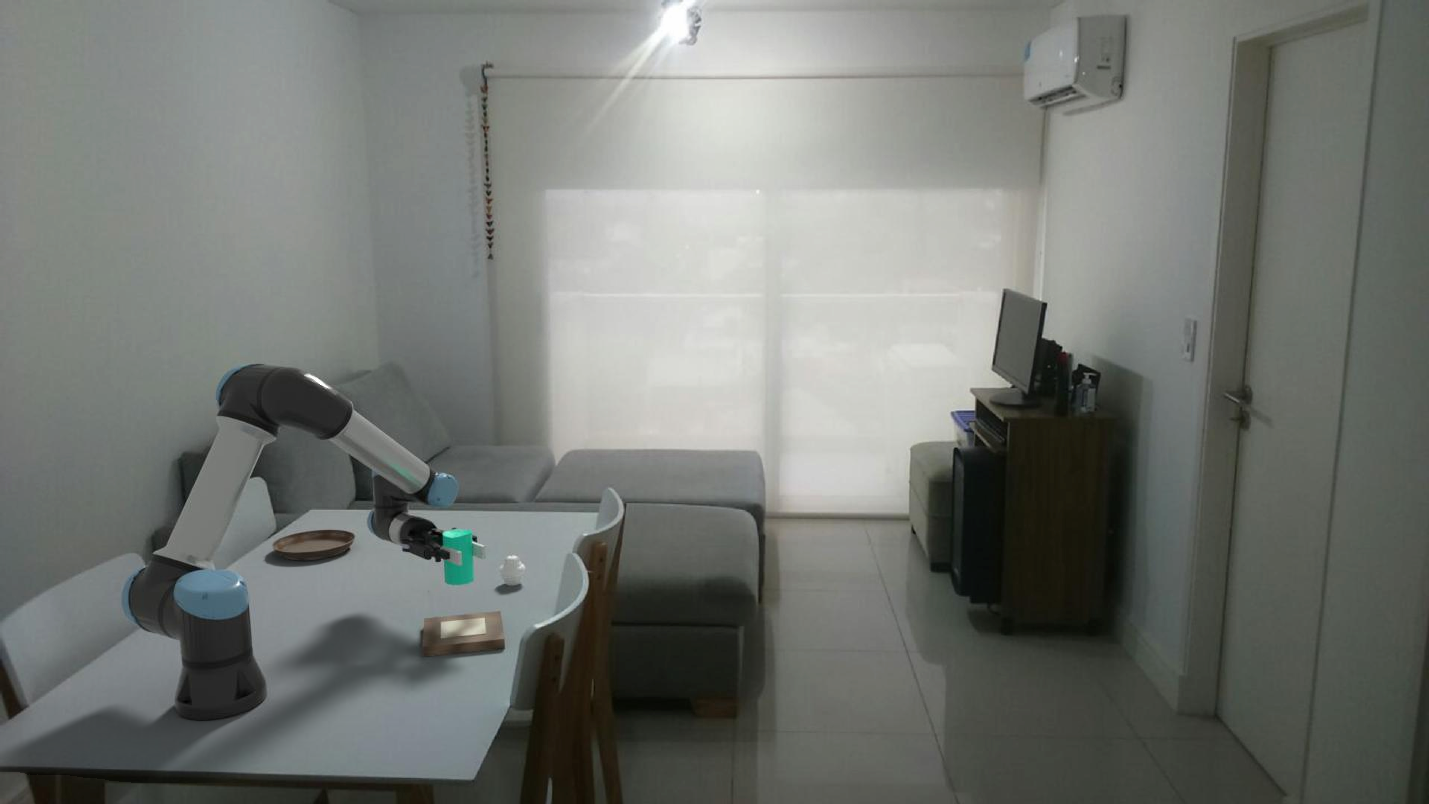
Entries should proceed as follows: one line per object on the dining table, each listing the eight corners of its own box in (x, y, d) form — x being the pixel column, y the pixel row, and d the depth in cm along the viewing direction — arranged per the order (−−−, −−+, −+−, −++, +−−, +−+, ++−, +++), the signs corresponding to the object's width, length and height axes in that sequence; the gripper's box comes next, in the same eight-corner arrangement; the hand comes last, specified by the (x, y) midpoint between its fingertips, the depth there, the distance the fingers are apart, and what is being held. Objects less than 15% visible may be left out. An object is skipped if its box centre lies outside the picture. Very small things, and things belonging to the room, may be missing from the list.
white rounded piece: (529, 579, 256) (528, 551, 255) (522, 588, 250) (520, 559, 249) (504, 578, 257) (502, 551, 255) (496, 587, 251) (495, 559, 249)
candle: (479, 580, 224) (477, 524, 222) (455, 587, 219) (453, 531, 217) (463, 573, 228) (460, 519, 226) (439, 580, 223) (436, 525, 221)
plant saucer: (270, 546, 285) (269, 534, 284) (351, 536, 293) (350, 524, 293) (275, 568, 266) (274, 556, 266) (361, 557, 275) (360, 545, 274)
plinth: (423, 656, 211) (422, 646, 211) (424, 627, 227) (424, 617, 226) (504, 648, 215) (504, 638, 215) (500, 619, 230) (500, 610, 230)
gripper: (450, 540, 242) (509, 563, 225) (377, 558, 229) (434, 583, 213) (449, 508, 240) (508, 529, 224) (375, 525, 228) (432, 547, 212)
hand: (472, 555), depth 219 cm, fingers closed on candle, 5 cm apart
